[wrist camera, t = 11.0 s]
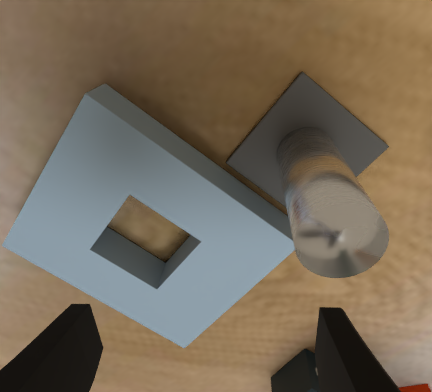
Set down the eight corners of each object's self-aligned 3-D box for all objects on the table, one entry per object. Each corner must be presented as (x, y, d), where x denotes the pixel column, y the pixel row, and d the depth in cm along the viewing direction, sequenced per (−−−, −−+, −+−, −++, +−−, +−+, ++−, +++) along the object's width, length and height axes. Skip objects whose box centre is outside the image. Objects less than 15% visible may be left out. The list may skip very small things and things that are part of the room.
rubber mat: (226, 160, 19) (226, 163, 19) (302, 71, 17) (302, 72, 17) (305, 219, 21) (306, 222, 20) (387, 144, 18) (388, 146, 18)
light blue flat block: (25, 222, 22) (1, 245, 20) (105, 83, 18) (85, 93, 16) (189, 319, 25) (184, 348, 23) (293, 220, 21) (299, 245, 19)
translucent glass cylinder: (281, 184, 19) (300, 283, 12) (272, 133, 18) (288, 212, 11) (336, 174, 19) (389, 271, 12) (331, 121, 18) (387, 195, 11)
